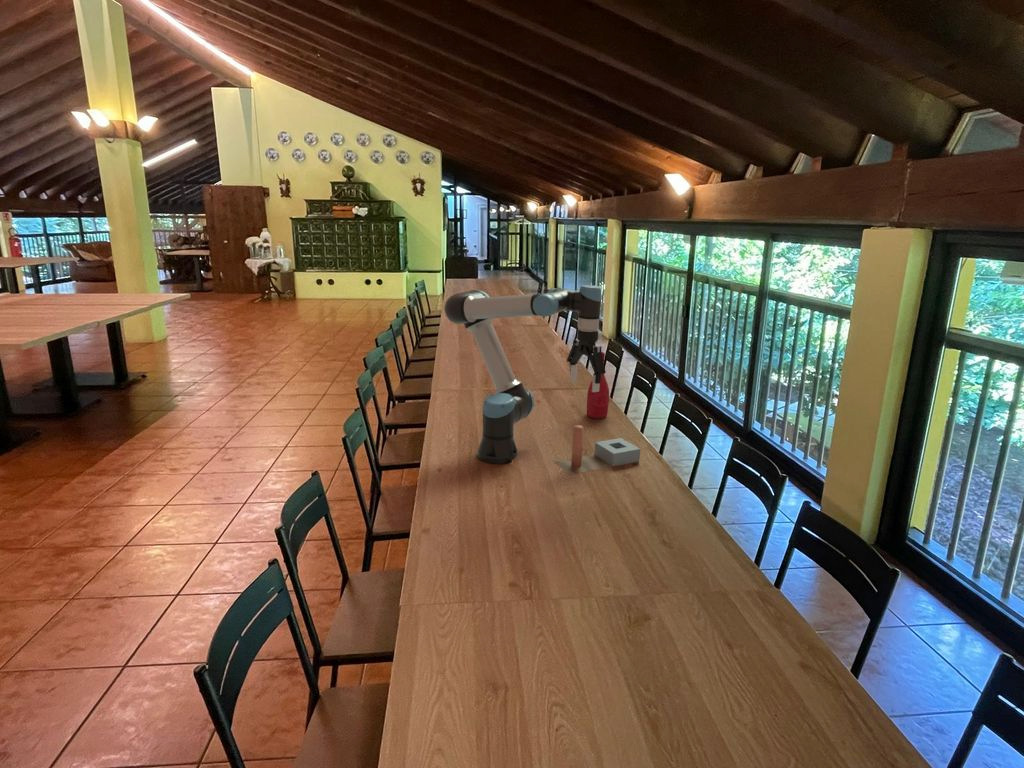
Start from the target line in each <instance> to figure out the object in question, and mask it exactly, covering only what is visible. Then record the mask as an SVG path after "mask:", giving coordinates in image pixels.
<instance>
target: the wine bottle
mask: <svg viewBox="0 0 1024 768" xmlns="http://www.w3.org/2000/svg"><path fill="white" fill-rule="evenodd" d="M601 353H602V357H603V362H604V363H605V356H606V354H605V352H604V351H601ZM597 371H598V370H597ZM592 382H593V378H592V380H591V382H590V383H589V385H588V388H587V389H588V390H587V398H586V415H587V416H588V417H590V418H591V419H604V418H606V417H607V416H608V412H609V402H610V389H609V388H610V387H609V384H608V381H607V379H606V376H605V374H601V382H600V386H599V392H592Z"/></svg>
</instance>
